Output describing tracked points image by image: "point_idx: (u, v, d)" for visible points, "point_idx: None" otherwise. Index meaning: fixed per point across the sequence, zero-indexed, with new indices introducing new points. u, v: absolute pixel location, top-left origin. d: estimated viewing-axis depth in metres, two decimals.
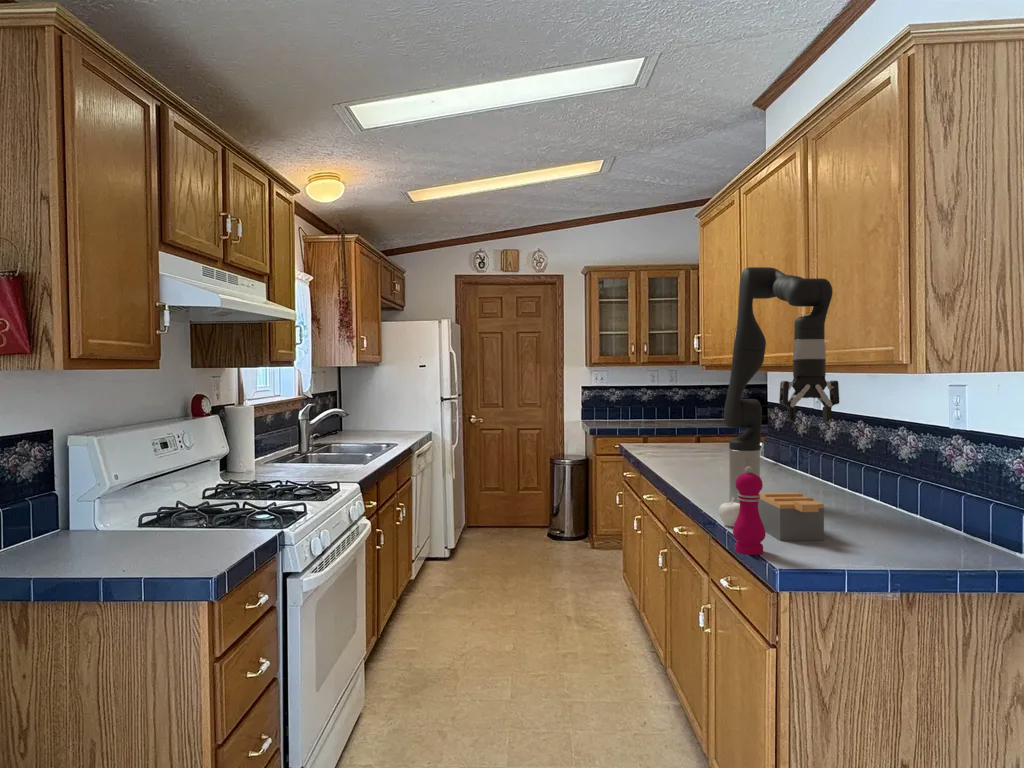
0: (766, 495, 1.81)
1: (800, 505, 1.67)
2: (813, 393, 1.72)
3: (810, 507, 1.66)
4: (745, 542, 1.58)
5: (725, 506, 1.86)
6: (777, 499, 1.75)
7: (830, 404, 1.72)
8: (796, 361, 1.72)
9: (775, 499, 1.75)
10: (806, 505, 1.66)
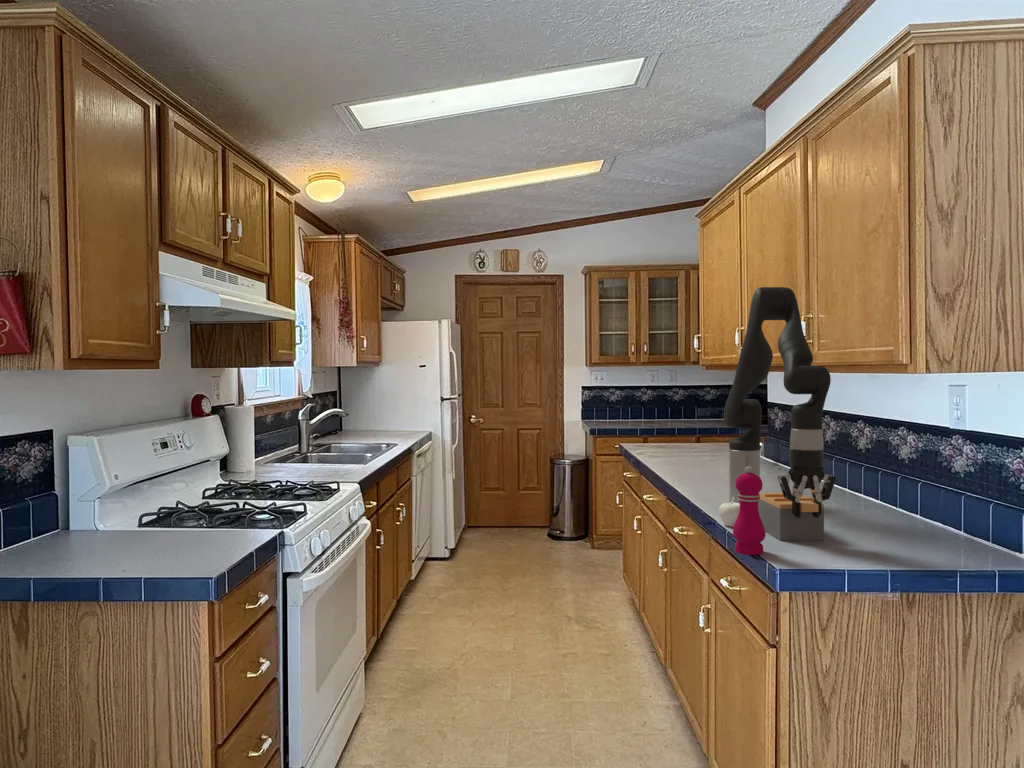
0: (766, 495, 1.81)
1: None
2: (810, 484, 1.67)
3: (810, 507, 1.66)
4: (745, 542, 1.58)
5: (725, 506, 1.86)
6: (777, 499, 1.75)
7: (820, 499, 1.67)
8: (793, 451, 1.67)
9: (775, 499, 1.75)
10: (806, 505, 1.66)
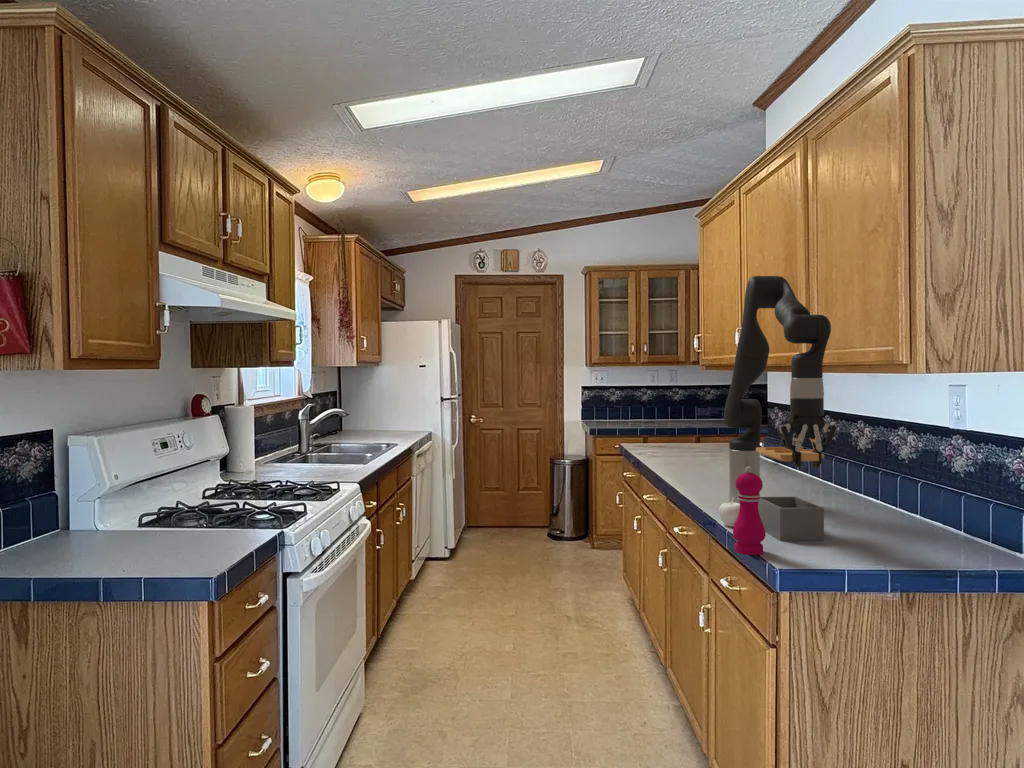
0: (766, 448, 1.81)
1: None
2: (811, 433, 1.67)
3: (810, 456, 1.66)
4: (745, 542, 1.58)
5: (725, 506, 1.86)
6: (777, 451, 1.75)
7: (820, 448, 1.66)
8: (793, 400, 1.66)
9: (775, 451, 1.75)
10: (806, 454, 1.66)
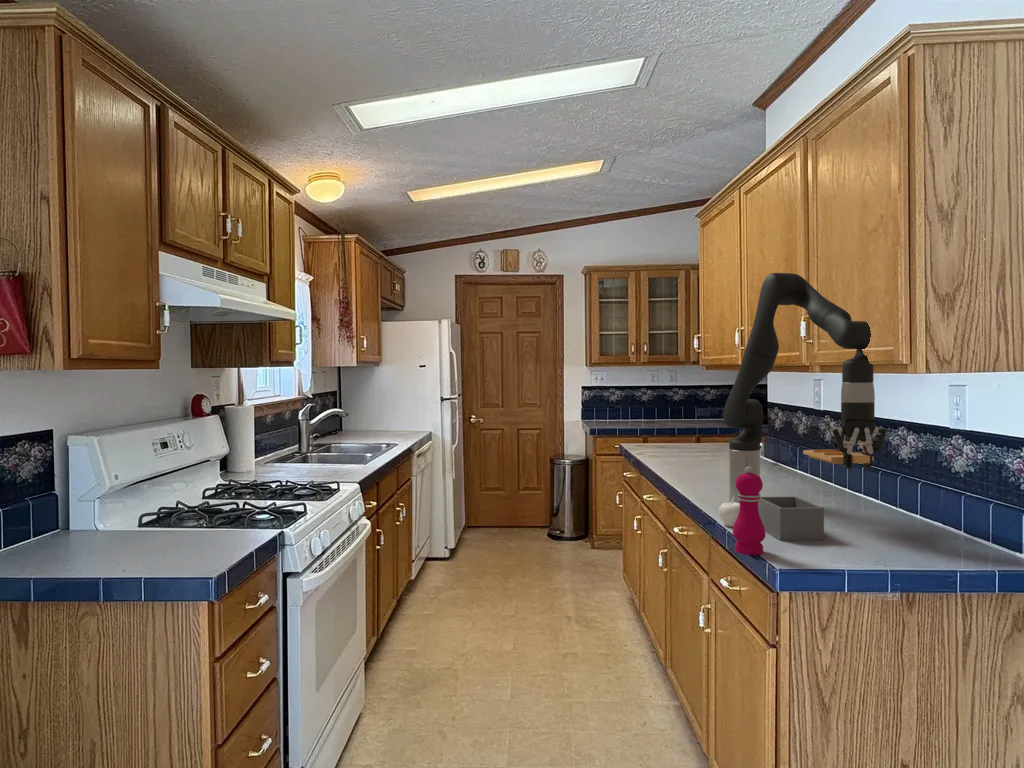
0: (815, 451, 1.86)
1: (852, 457, 1.71)
2: (862, 436, 1.71)
3: (862, 458, 1.71)
4: (745, 542, 1.58)
5: (725, 506, 1.86)
6: (827, 453, 1.80)
7: (871, 451, 1.71)
8: (845, 404, 1.71)
9: (825, 453, 1.80)
10: (858, 456, 1.71)
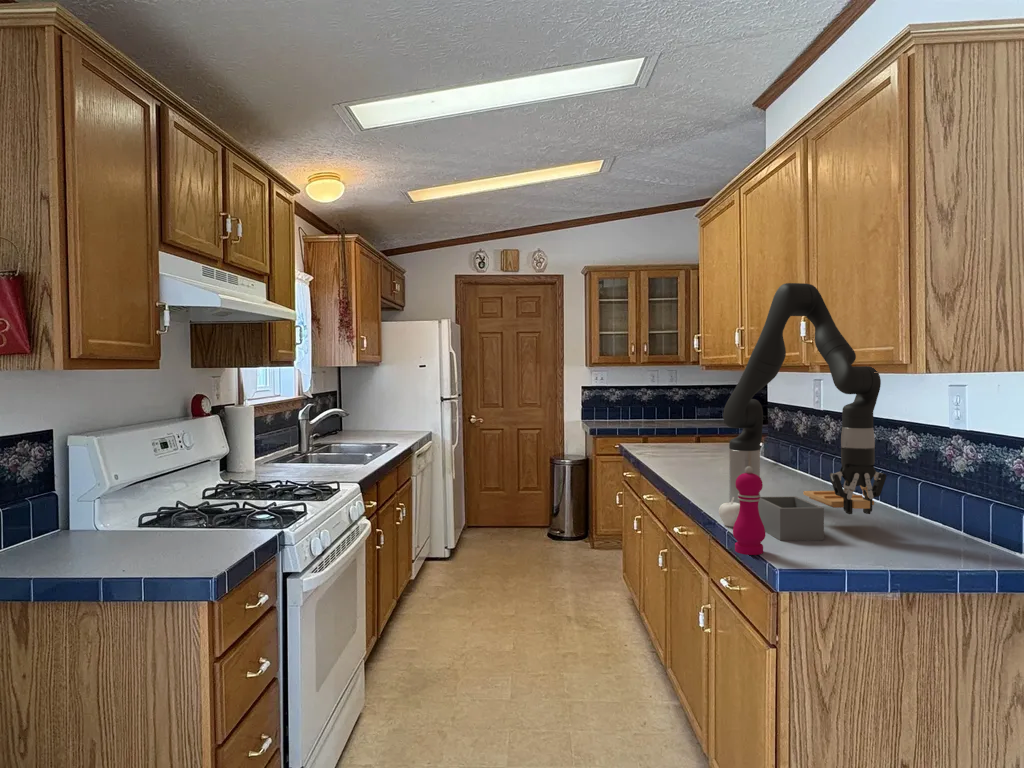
0: (815, 493, 1.86)
1: (852, 502, 1.71)
2: (862, 481, 1.72)
3: (862, 504, 1.71)
4: (745, 542, 1.58)
5: (725, 506, 1.86)
6: (827, 496, 1.80)
7: (871, 496, 1.71)
8: (845, 449, 1.72)
9: (825, 496, 1.80)
10: (858, 502, 1.71)
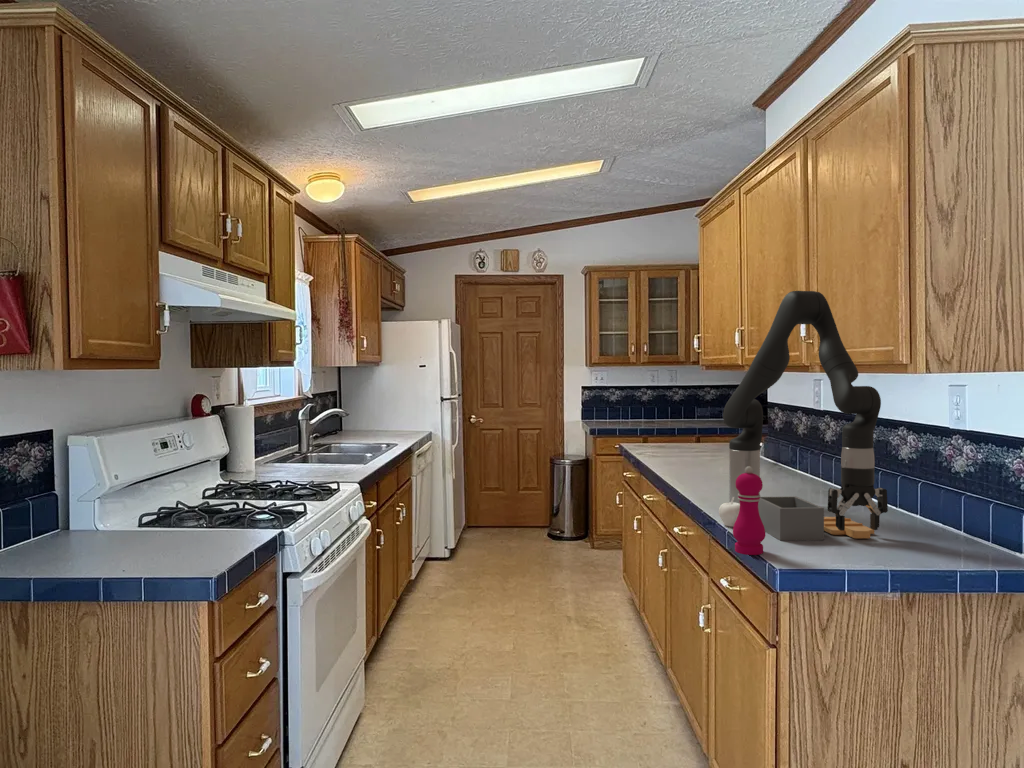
0: None
1: (852, 531, 1.72)
2: (862, 501, 1.72)
3: (862, 534, 1.71)
4: (745, 542, 1.58)
5: (725, 506, 1.86)
6: (827, 524, 1.80)
7: (878, 512, 1.72)
8: (845, 469, 1.72)
9: (825, 524, 1.80)
10: (858, 531, 1.71)
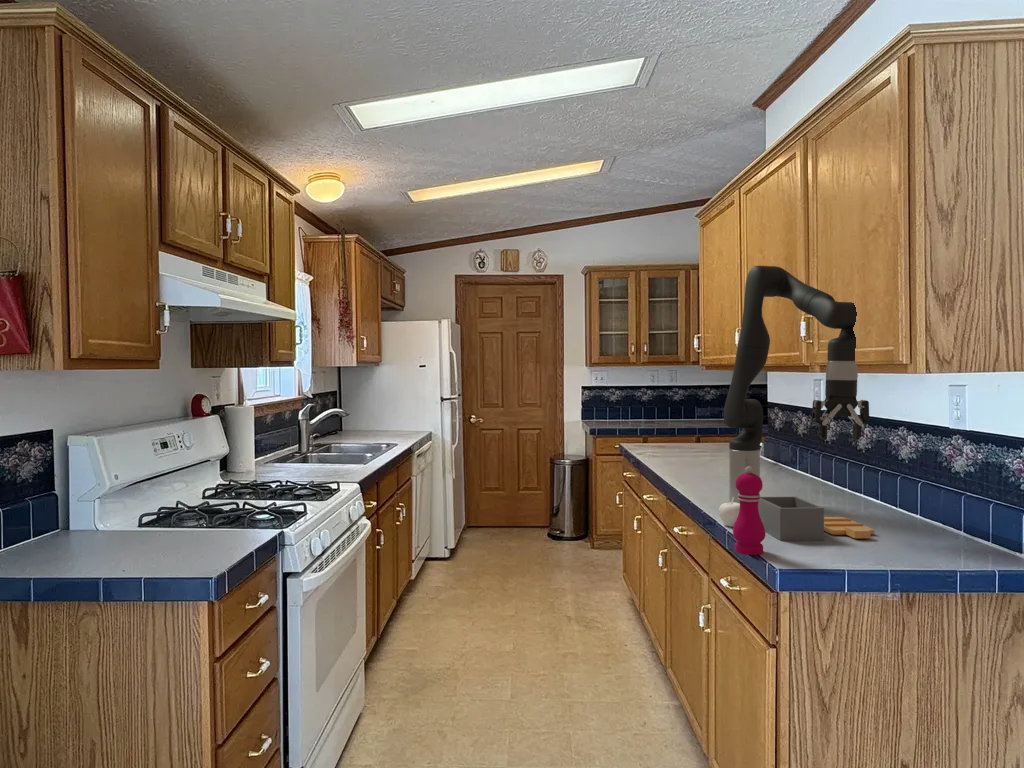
0: None
1: (852, 531, 1.71)
2: (844, 412, 1.80)
3: (862, 534, 1.71)
4: (745, 542, 1.58)
5: (725, 506, 1.86)
6: (828, 524, 1.80)
7: (860, 423, 1.80)
8: (829, 381, 1.79)
9: (826, 524, 1.80)
10: (858, 531, 1.71)
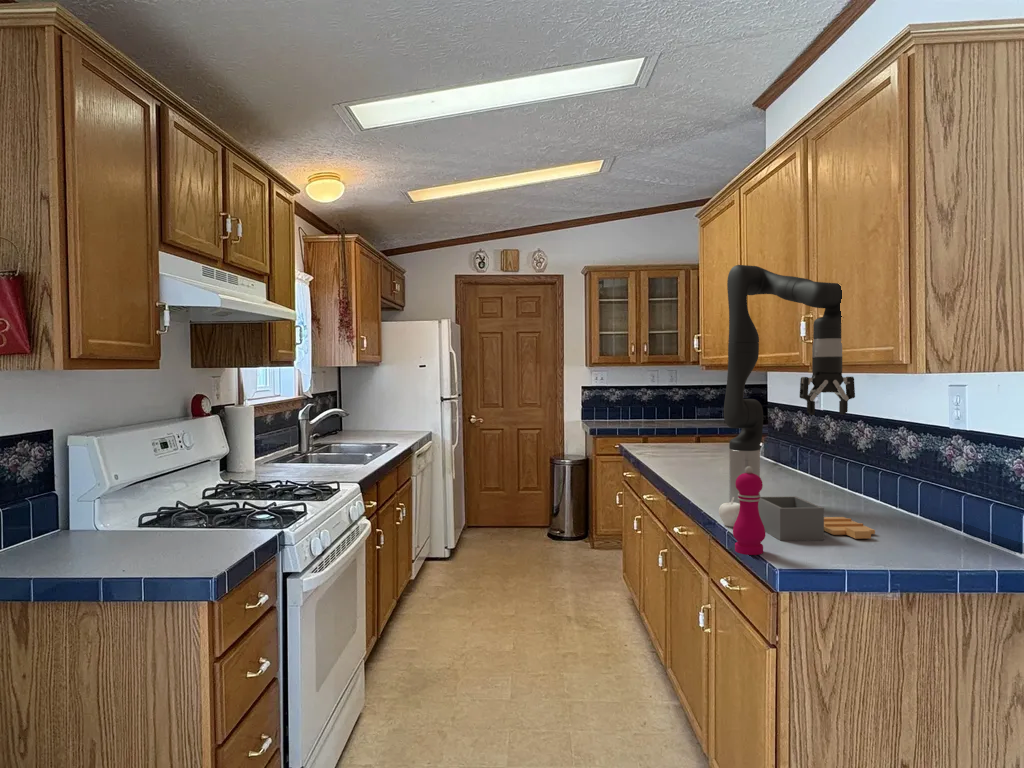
0: None
1: (853, 531, 1.71)
2: (831, 388, 1.87)
3: (863, 534, 1.70)
4: (745, 542, 1.58)
5: (725, 506, 1.86)
6: (828, 524, 1.80)
7: (846, 398, 1.87)
8: (815, 359, 1.87)
9: (826, 524, 1.80)
10: (859, 532, 1.70)
